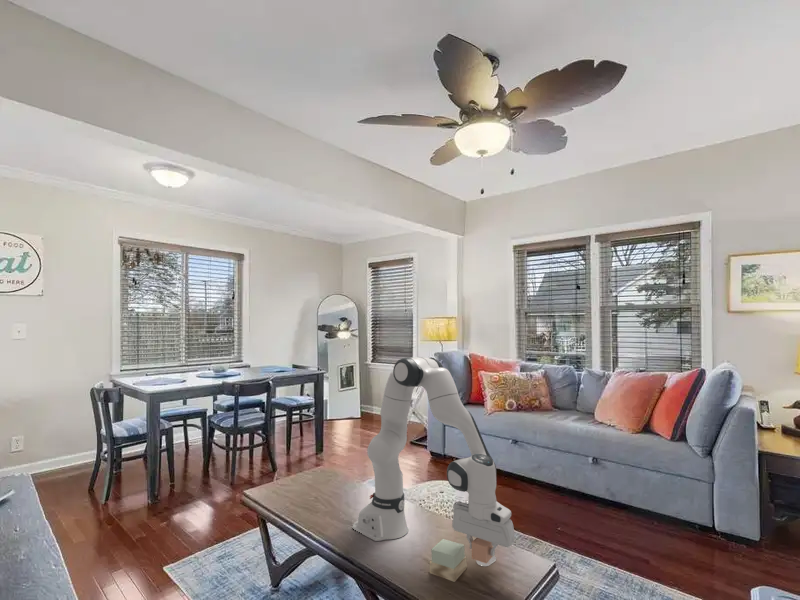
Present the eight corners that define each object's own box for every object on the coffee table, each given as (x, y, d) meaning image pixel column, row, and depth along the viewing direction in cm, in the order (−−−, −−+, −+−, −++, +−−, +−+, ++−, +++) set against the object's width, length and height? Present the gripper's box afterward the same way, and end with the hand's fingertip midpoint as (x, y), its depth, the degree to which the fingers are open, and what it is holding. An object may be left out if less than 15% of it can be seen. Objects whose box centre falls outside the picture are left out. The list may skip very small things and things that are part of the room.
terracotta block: (471, 558, 139) (471, 542, 139) (478, 551, 143) (478, 535, 143) (486, 563, 136) (486, 547, 136) (492, 556, 140) (492, 540, 140)
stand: (473, 562, 148) (486, 553, 153) (485, 568, 144) (499, 558, 150) (472, 539, 148) (486, 531, 154) (485, 544, 145) (498, 535, 150)
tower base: (429, 574, 142) (429, 561, 142) (442, 561, 150) (442, 549, 150) (454, 582, 137) (454, 569, 137) (466, 569, 145) (466, 556, 145)
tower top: (431, 562, 142) (431, 549, 142) (443, 550, 149) (442, 538, 149) (453, 569, 138) (453, 556, 138) (464, 557, 144) (464, 544, 145)
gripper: (448, 503, 143) (448, 545, 143) (508, 520, 132) (508, 566, 131) (457, 496, 149) (457, 537, 148) (516, 512, 137) (516, 557, 136)
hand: (482, 551), depth 140 cm, fingers closed on terracotta block, 5 cm apart
